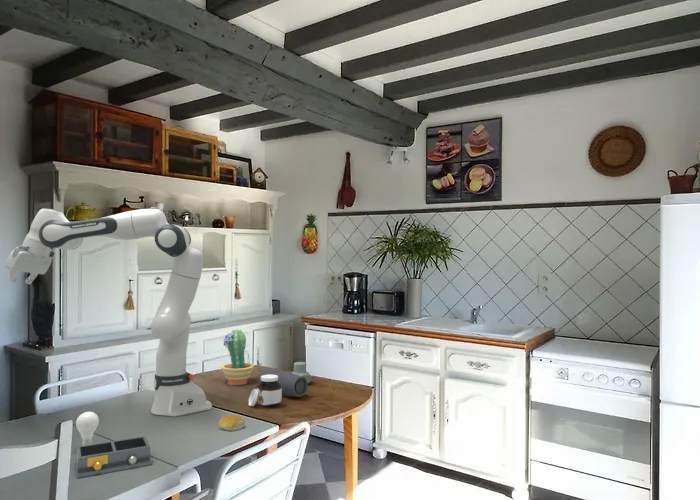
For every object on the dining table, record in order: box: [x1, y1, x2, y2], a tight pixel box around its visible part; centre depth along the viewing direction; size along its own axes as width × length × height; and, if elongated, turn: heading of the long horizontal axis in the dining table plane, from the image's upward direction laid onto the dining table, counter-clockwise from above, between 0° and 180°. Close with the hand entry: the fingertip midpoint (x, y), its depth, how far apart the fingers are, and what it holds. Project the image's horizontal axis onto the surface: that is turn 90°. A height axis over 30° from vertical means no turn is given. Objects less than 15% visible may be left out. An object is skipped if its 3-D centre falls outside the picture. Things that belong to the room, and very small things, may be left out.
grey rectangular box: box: [75, 435, 153, 479], centre depth 146 cm, size 19×12×4 cm, turn 120°
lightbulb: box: [75, 411, 100, 446], centre depth 157 cm, size 6×6×11 cm
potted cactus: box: [221, 329, 255, 386], centre depth 241 cm, size 15×15×25 cm
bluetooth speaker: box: [258, 368, 309, 398], centre depth 221 cm, size 23×9×10 cm, turn 50°
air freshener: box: [291, 361, 312, 384], centre depth 239 cm, size 11×8×10 cm
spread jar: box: [248, 374, 283, 409], centre depth 204 cm, size 12×11×12 cm
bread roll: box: [218, 415, 246, 432], centre depth 178 cm, size 8×9×4 cm
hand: (19, 282), depth 190 cm, fingers open, 8 cm apart
